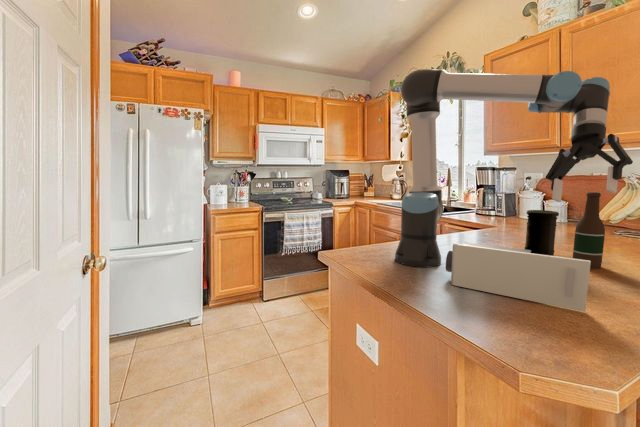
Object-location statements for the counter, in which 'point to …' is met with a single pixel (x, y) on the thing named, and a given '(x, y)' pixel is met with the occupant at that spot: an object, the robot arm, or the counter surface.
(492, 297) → the counter surface
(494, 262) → the side door
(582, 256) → the beer bottle
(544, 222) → the container
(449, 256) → the camera case
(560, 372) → the counter surface
